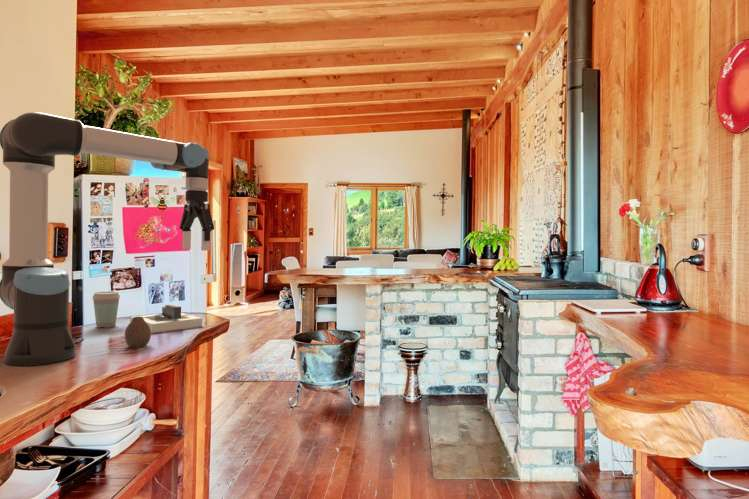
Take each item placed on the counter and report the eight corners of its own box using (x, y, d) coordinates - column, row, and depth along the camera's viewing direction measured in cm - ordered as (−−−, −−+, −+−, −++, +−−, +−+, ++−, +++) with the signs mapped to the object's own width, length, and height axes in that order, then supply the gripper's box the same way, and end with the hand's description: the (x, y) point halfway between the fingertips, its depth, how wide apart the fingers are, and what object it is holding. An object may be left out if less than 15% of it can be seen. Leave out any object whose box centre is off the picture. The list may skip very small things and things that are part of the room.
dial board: (151, 333, 156) (152, 323, 155) (130, 325, 167) (130, 316, 167) (202, 326, 169) (202, 317, 169) (178, 319, 181) (178, 311, 181)
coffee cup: (124, 324, 168) (125, 291, 168) (109, 329, 159) (109, 294, 159) (102, 323, 169) (103, 290, 168) (86, 328, 160) (86, 293, 160)
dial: (150, 320, 168) (150, 303, 168) (172, 318, 174) (172, 301, 174) (166, 325, 160) (166, 307, 159) (188, 322, 166) (188, 305, 165)
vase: (146, 342, 142) (146, 314, 141) (154, 347, 137) (154, 317, 136) (121, 346, 137) (121, 316, 137) (128, 350, 132) (129, 320, 132)
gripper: (225, 189, 161) (223, 251, 161) (189, 192, 177) (188, 248, 178) (204, 187, 155) (203, 251, 155) (170, 191, 171) (169, 248, 172)
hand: (195, 249), depth 166 cm, fingers open, 13 cm apart
